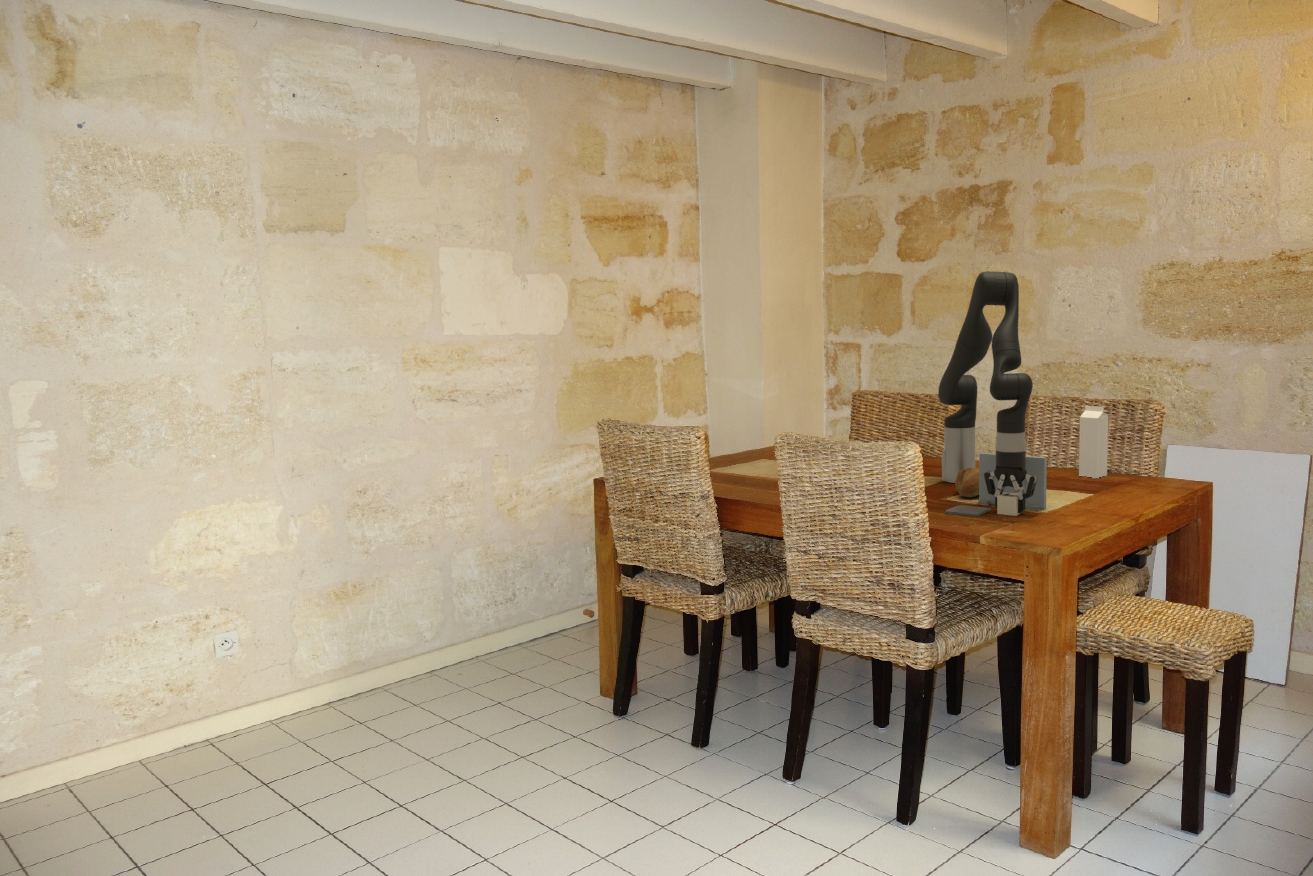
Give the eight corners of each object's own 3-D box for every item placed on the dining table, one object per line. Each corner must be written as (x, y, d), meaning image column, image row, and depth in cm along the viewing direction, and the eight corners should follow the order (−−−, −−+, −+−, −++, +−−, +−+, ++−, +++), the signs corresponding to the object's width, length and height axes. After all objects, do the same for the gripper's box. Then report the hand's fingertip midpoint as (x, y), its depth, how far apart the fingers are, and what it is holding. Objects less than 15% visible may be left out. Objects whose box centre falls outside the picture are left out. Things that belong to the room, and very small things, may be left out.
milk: (1096, 479, 306) (1098, 407, 302) (1078, 476, 310) (1079, 406, 307) (1107, 476, 309) (1108, 405, 306) (1088, 473, 314) (1090, 404, 311)
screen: (975, 504, 277) (975, 454, 275) (984, 500, 281) (984, 451, 279) (1040, 511, 265) (1041, 459, 263) (1048, 507, 270) (1049, 456, 268)
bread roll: (948, 498, 286) (948, 471, 285) (964, 489, 298) (965, 463, 297) (982, 501, 281) (982, 473, 280) (997, 491, 293) (997, 465, 292)
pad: (944, 513, 268) (944, 510, 268) (959, 507, 274) (958, 504, 274) (977, 516, 262) (977, 514, 262) (990, 510, 269) (990, 508, 268)
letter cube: (997, 514, 264) (997, 495, 264) (1004, 510, 268) (1004, 492, 267) (1015, 516, 261) (1015, 497, 260) (1022, 512, 265) (1023, 493, 264)
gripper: (978, 448, 264) (978, 511, 266) (1032, 452, 255) (1031, 517, 257) (989, 445, 270) (989, 506, 272) (1043, 448, 260) (1042, 512, 263)
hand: (1010, 511), depth 265 cm, fingers closed on letter cube, 5 cm apart
